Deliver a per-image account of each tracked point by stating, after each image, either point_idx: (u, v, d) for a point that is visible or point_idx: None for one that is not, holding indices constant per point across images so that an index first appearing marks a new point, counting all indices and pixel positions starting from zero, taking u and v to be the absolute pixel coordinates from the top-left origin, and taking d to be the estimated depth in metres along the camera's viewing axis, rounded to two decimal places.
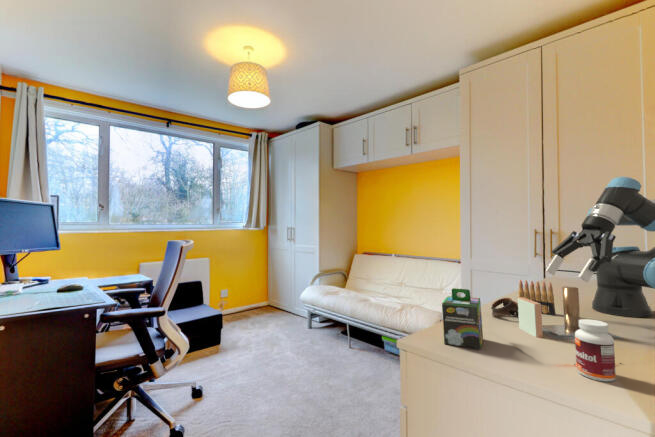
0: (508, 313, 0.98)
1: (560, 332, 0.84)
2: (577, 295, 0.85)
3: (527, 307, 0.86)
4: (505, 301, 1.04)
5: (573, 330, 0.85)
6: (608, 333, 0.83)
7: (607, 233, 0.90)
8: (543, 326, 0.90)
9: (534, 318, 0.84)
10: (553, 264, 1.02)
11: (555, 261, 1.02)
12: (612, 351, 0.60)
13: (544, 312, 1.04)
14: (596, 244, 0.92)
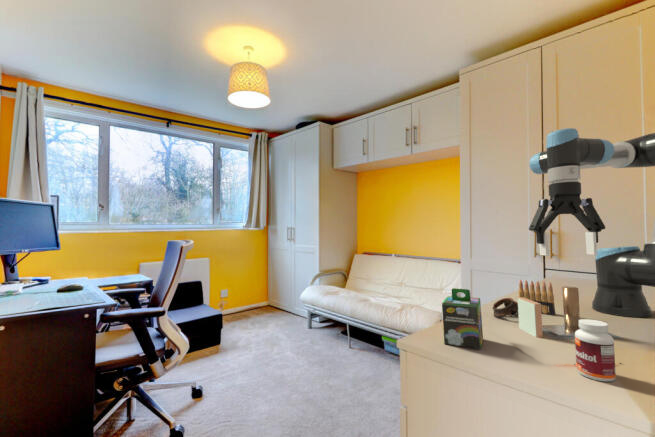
0: (510, 313, 0.98)
1: (560, 332, 0.84)
2: (577, 295, 0.85)
3: (527, 307, 0.86)
4: (506, 301, 1.04)
5: (573, 330, 0.85)
6: (608, 333, 0.83)
7: (591, 200, 0.87)
8: (543, 326, 0.90)
9: (534, 318, 0.84)
10: None
11: None
12: (612, 351, 0.60)
13: (544, 312, 1.04)
14: None
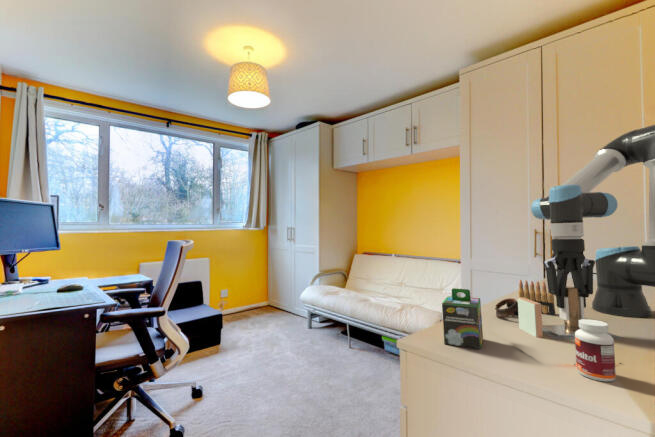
0: (513, 314, 0.97)
1: (560, 332, 0.84)
2: (577, 295, 0.85)
3: (527, 307, 0.86)
4: (509, 302, 1.03)
5: (573, 330, 0.85)
6: (608, 333, 0.83)
7: (594, 263, 0.86)
8: (543, 326, 0.90)
9: (535, 318, 0.84)
10: None
11: None
12: (612, 351, 0.60)
13: (544, 312, 1.04)
14: None
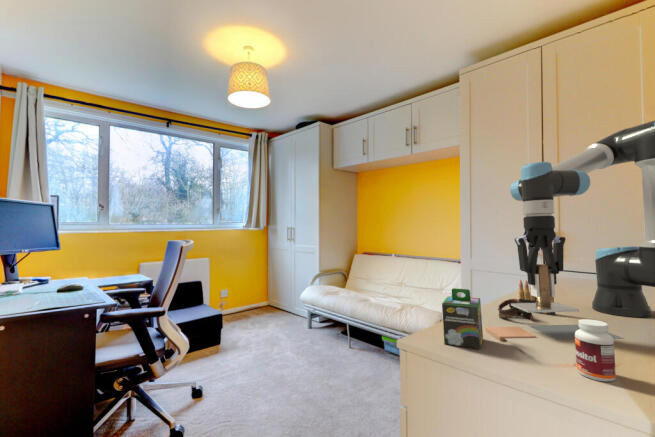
0: (516, 314, 0.96)
1: (530, 308, 0.85)
2: (548, 271, 0.86)
3: None
4: (512, 302, 1.02)
5: (543, 306, 0.86)
6: (577, 309, 0.83)
7: (564, 240, 0.87)
8: (515, 304, 0.90)
9: None
10: None
11: None
12: (612, 351, 0.60)
13: (544, 312, 1.04)
14: None
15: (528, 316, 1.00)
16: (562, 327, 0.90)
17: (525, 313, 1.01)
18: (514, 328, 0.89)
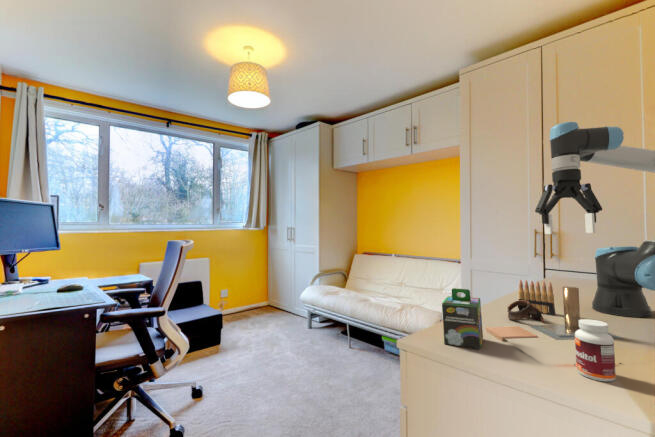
0: (527, 316, 0.94)
1: (560, 332, 0.84)
2: (577, 295, 0.85)
3: None
4: (521, 303, 1.00)
5: (573, 330, 0.85)
6: (608, 333, 0.83)
7: (590, 185, 0.99)
8: (543, 326, 0.90)
9: None
10: None
11: None
12: (612, 351, 0.60)
13: (544, 312, 1.04)
14: None
15: (538, 318, 0.98)
16: None
17: (534, 314, 0.99)
18: (515, 328, 0.89)
